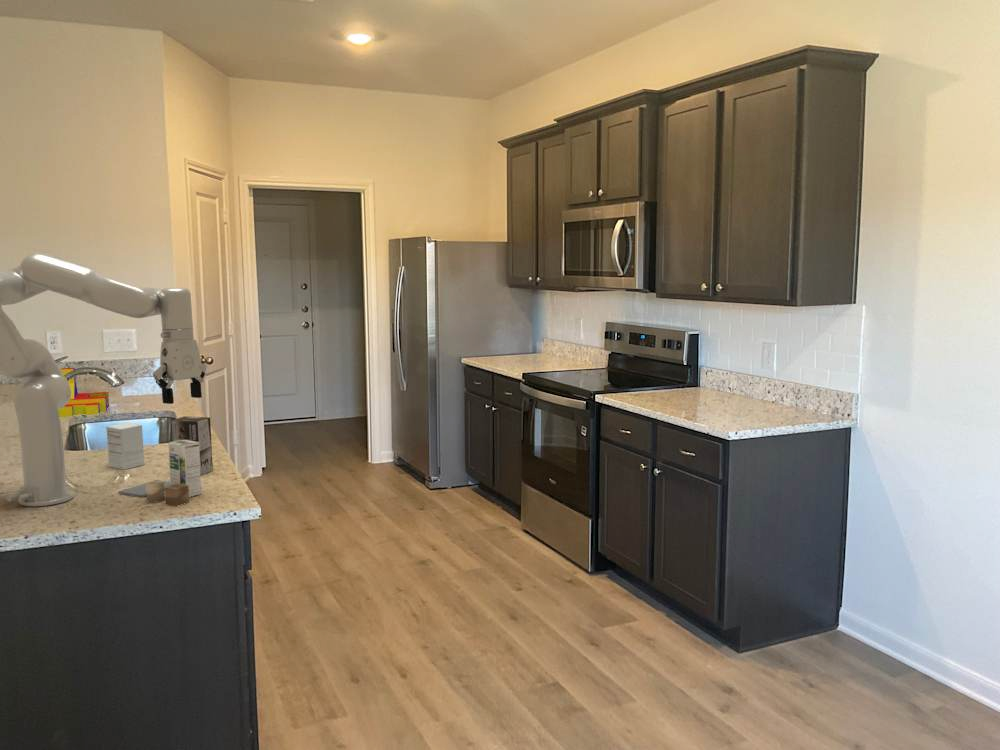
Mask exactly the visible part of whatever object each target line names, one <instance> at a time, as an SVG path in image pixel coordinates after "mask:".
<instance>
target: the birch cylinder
mask: <svg viewBox="0 0 1000 750" xmlns="http://www.w3.org/2000/svg"><path fill="white" fill-rule="evenodd" d="M163 481H164V480H160V481H155V480H151V481H148V482H145V483H146V497H145V498H146V502H147V501H149V502H148V503H157V502H156V501H160V502H162V500H163V501H165V500H164V499H165V491H164V482H163Z"/></svg>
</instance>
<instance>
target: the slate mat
mask: <svg viewBox="0 0 1000 750" xmlns="http://www.w3.org/2000/svg"><path fill="white" fill-rule="evenodd" d="M154 481H161V480H159V479H156V480H154ZM162 481H163V482H164V492H165V487H168V486H170V481H166V480H162ZM146 483H147V482H145V483H142V484H139V485H135V486H132V487H129V488H126V489H122V490H119V491H118V493H122V494H121V495H123V494H128V495H127V496H130V495H133V496H132V497H136V496H138V498H142V497H144V498H146V497H145V496H146Z"/></svg>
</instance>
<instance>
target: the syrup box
mask: <svg viewBox="0 0 1000 750" xmlns="http://www.w3.org/2000/svg"><path fill="white" fill-rule="evenodd" d="M168 457H169V458H168V459H169V460H168V463H169V482H170V486H171V485H174V484H182V485H188V489H189V498H191V496H192V497H196V496H198V495H199V496H200V495H201V494H202V483H201V482H202V481H201V475H200V452H199V442H195V441H189V440H178V441H173V440H172V441H170V442H169V443H168ZM195 495H196V496H195Z"/></svg>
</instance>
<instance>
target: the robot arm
mask: <svg viewBox="0 0 1000 750" xmlns="http://www.w3.org/2000/svg"><path fill="white" fill-rule="evenodd" d="M47 291H50V292H54V293H57V294H60V295H63V296H67V297H69V298H73V299H76V300H79V301H82V302H85V303H86V304H89V305H93V306H96V307H97V308H101V309H102V310H106V311H109V312H112V313H114V314H118V315H122V316H126V317H129V318H134V319H144V318H149V317H153V316H159V315H160V319H161V333H160V338H162V342H161V345H160V357H159V358H160V359H159V360H160V362H159V365H160V366H159V367H158V368H157V369H156V370H154V371H153V372H152V377H153V379H154V381H155V383H156V385H158V387H159V389H161V396H162V403H163V404H168V405H172V404H174V389H173V387H172V385H173V384H174V382H175V381H182V380H183V381H184V380H190V382H189V383H190V384H189V386H190V387H189V388H190V397H191V398H193V399H194V398H196V399H201V398H202V397H203V396H202V383H203V378H204V377H205V375H206V369H207V364H205V363H203V362H201V361H202V360H201V355H200V351H199V350H200V349H199V346H198V345H199V344H198V342H197V340H196V339H195V337H194V324H193V308H192V297H191V296H192V294H191V292H190V291H191V290H189V289H188V288H186V287H168V288H167V287H166V288H156V287H155V288H154V287H135V286H131V285H128V284H125V283H121V282H119V281H116V280H113V279H110V278H107V277H106V276H104V275H102V274H101V273H100V272H98V270H96V269H93V268H92V267H89V266H88V267H87V266H85V265H82V264H78V263H75V262H71V261H69V260H65V259H63V257H61V256H60V255H57V254H55V253H51V252H49V253H48V252H34V253H30V254H28V255H26V256H25V257H24V258H23V259H22V260H21V262H20V264H19V266H16V267H14V268H11V269H9V270H6V271H0V374H1V375H2V376H3V377H4V378H7V379H10V380H20V379H21V380H22V381H23V383H24V384H23V383H22V385H21V386H20V387H19V388H18V390H16V392H15V396H14V400H13V401H14V402H13V403H14V404H13V405H14V410H15V415H16V420H17V423H18V429H19V440H20V447H21V449H20V450H21V461H22V463H21V464H22V475H23V476H22V477H23V485H21V486H20V485H19V490H17V491H16V492H10V493H8V494H6V495H5V499H6V501H7V502H13V501H16V500H17V501H18V504H19V505H21V506H25V507H46V506H51V505H52V506H53V505H57V504H61V503H62V504H63V503H65V502H68V501H71V500H72V499H73V498H74V497H75V494H74V491H72V490H69V489H68V488H67V476H66V474H67V473H66V464H65V449H64V448H65V447H64V435H63V426H62V422H61V419H60V418H59V414H58V410H59V409H61V408H62V407H64V406H65V405H66V404H67V403H68V402H69V400H70V398H71V388H70V385H69V383H68V381H67V379H66V378H65V376H64V375H63V373H62V371H61V368H60V367H59V365H58V363H57V362H56V360H55V358H54V357H53V356H52V354H51V352H50V351H49V349H48V348H47V347H45V346H44V344H42V343H41V342H40V341H37V340H34V339H29V338H24V337H23V335H21V333H20V331H19V330H18V328H17V326H16V325H15V323H14V321H13V320H12V319H11V318H10V317H9V316H8V315H7V314H6V312H5V310H3V307H2V306H8V305H9V306H10V305H14V304H18V303H21V302H23V301H24V302H25V301H26V300H29V299H31V298H33V297H35V296H37V295H39V294H42V293H45V292H47Z"/></svg>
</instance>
